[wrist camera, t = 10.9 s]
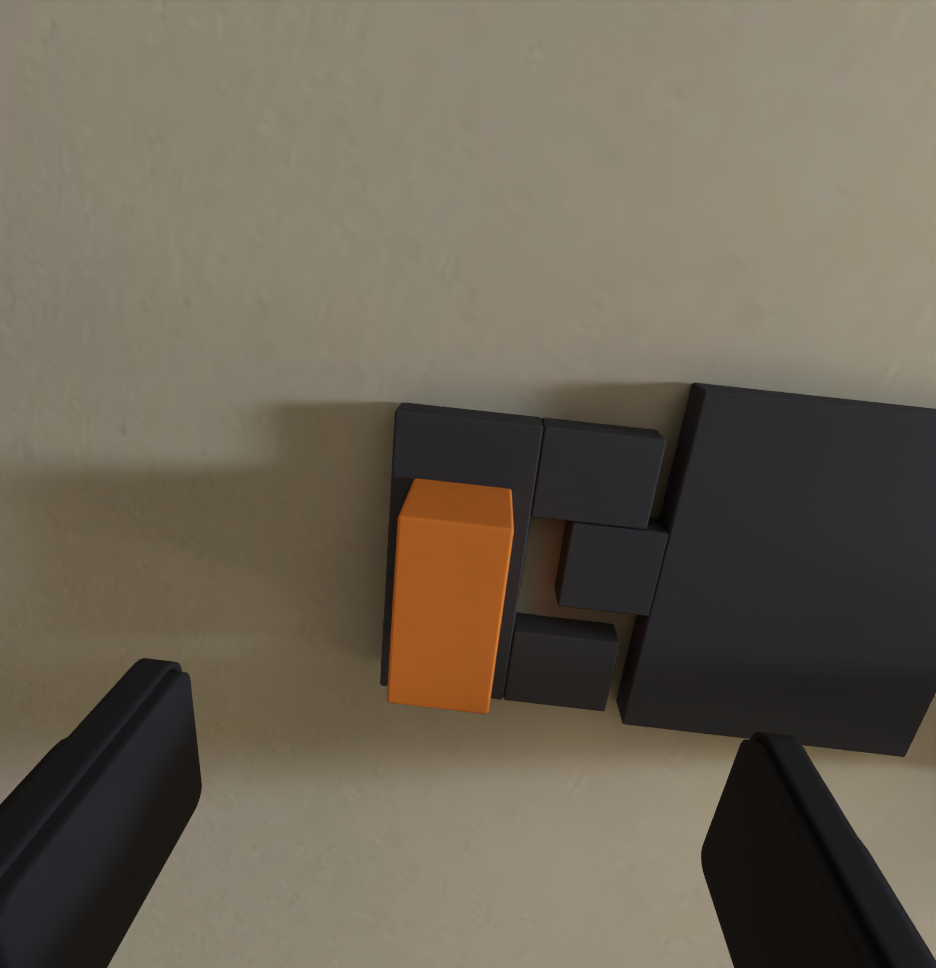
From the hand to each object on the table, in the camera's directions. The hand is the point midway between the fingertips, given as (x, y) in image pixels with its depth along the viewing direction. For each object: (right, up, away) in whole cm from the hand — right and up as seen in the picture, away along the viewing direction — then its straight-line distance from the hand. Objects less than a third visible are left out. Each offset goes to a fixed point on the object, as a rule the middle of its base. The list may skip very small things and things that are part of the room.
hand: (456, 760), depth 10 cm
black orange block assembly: (+2, +2, +10) cm, 10 cm away
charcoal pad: (+10, +2, +9) cm, 14 cm away
